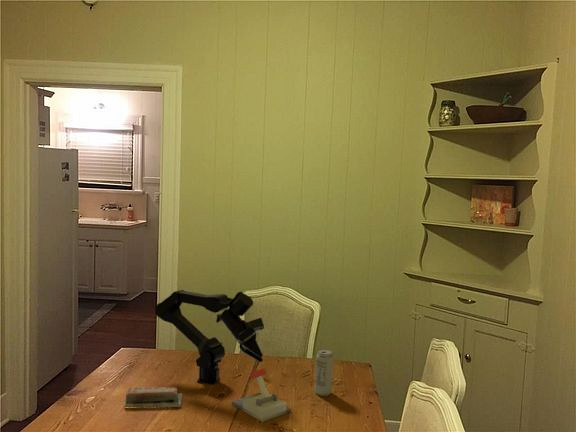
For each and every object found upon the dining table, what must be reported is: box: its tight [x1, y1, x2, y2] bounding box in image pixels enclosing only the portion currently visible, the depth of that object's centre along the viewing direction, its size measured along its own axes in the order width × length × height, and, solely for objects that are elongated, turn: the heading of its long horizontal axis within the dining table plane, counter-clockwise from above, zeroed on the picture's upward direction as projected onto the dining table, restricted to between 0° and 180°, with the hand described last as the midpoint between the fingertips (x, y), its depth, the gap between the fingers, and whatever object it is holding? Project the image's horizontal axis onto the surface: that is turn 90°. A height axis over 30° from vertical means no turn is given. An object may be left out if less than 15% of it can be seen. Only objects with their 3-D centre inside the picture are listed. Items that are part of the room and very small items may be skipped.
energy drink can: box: [314, 349, 334, 397], centre depth 188 cm, size 6×6×15 cm
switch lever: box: [249, 367, 274, 403], centre depth 172 cm, size 2×5×10 cm
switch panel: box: [231, 392, 292, 423], centre depth 174 cm, size 16×12×5 cm
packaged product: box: [123, 386, 183, 409], centre depth 175 cm, size 18×5×10 cm
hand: (261, 359), depth 184 cm, fingers open, 9 cm apart
